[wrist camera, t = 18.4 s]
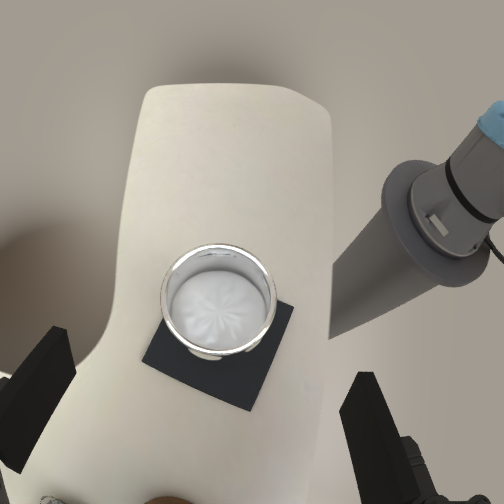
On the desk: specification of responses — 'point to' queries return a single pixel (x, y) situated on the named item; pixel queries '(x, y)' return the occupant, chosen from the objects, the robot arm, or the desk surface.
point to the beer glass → (218, 302)
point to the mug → (167, 501)
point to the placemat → (225, 376)
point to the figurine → (53, 503)
